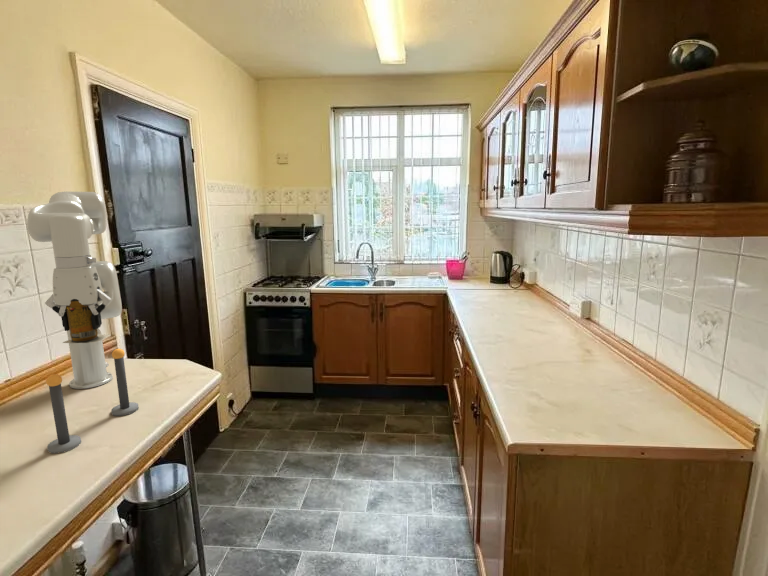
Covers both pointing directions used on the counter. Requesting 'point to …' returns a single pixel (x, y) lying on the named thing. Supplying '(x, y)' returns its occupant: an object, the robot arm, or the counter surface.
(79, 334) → the condiment
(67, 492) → the counter surface
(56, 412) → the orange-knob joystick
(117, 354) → the stand
